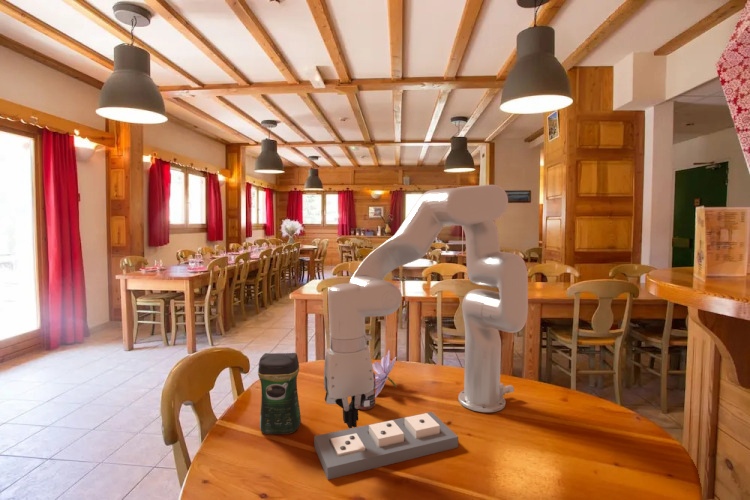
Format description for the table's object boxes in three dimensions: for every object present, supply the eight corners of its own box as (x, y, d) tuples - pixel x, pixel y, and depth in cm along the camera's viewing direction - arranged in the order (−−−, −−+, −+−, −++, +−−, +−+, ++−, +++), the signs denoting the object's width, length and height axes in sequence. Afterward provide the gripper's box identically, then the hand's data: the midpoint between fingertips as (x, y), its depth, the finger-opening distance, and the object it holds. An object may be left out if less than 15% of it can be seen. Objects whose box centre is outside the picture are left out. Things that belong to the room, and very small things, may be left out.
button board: (431, 421, 99) (431, 411, 99) (458, 447, 88) (458, 436, 88) (314, 446, 89) (314, 435, 89) (327, 479, 78) (327, 467, 77)
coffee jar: (303, 418, 101) (301, 348, 99) (297, 436, 93) (295, 359, 91) (265, 419, 101) (263, 348, 99) (256, 436, 93) (254, 360, 91)
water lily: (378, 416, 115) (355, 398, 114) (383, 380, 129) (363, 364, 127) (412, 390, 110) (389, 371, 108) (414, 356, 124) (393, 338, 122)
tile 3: (356, 443, 89) (356, 432, 89) (365, 458, 84) (365, 446, 83) (330, 448, 87) (330, 437, 87) (338, 464, 81) (338, 453, 81)
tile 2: (392, 429, 92) (392, 419, 92) (403, 443, 87) (403, 432, 86) (368, 435, 90) (368, 424, 90) (378, 449, 85) (378, 438, 84)
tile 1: (426, 422, 95) (427, 412, 95) (439, 435, 90) (439, 424, 90) (404, 427, 93) (404, 416, 93) (416, 440, 88) (416, 429, 88)
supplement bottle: (373, 411, 104) (372, 370, 103) (351, 409, 106) (350, 368, 105) (377, 401, 110) (377, 362, 109) (356, 399, 111) (356, 360, 110)
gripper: (374, 332, 89) (376, 409, 91) (309, 342, 84) (313, 423, 86) (387, 342, 82) (389, 425, 84) (316, 354, 77) (321, 442, 79)
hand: (350, 424), depth 85 cm, fingers closed
